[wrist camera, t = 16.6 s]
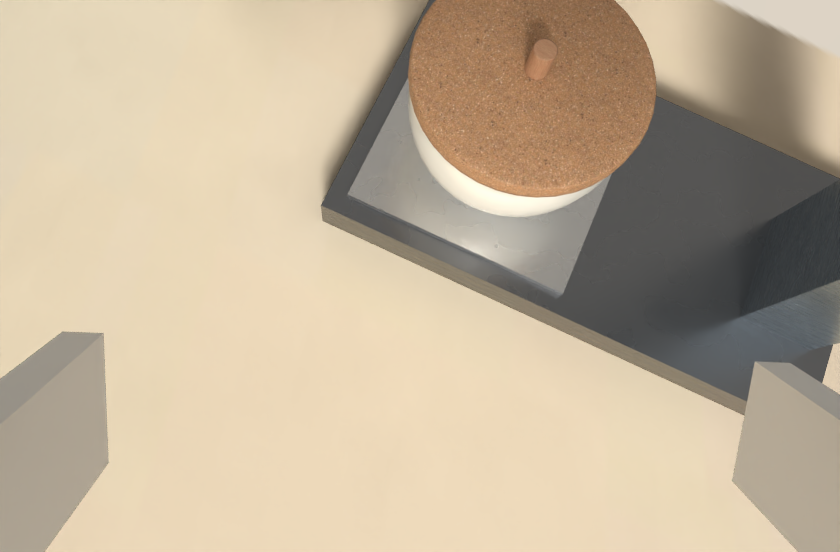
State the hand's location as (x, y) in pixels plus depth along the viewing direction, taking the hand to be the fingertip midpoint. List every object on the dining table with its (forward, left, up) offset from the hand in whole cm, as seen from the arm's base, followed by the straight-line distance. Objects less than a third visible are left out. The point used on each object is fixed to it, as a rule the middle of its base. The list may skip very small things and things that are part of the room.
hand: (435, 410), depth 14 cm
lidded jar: (-1, +16, -20) cm, 26 cm away
